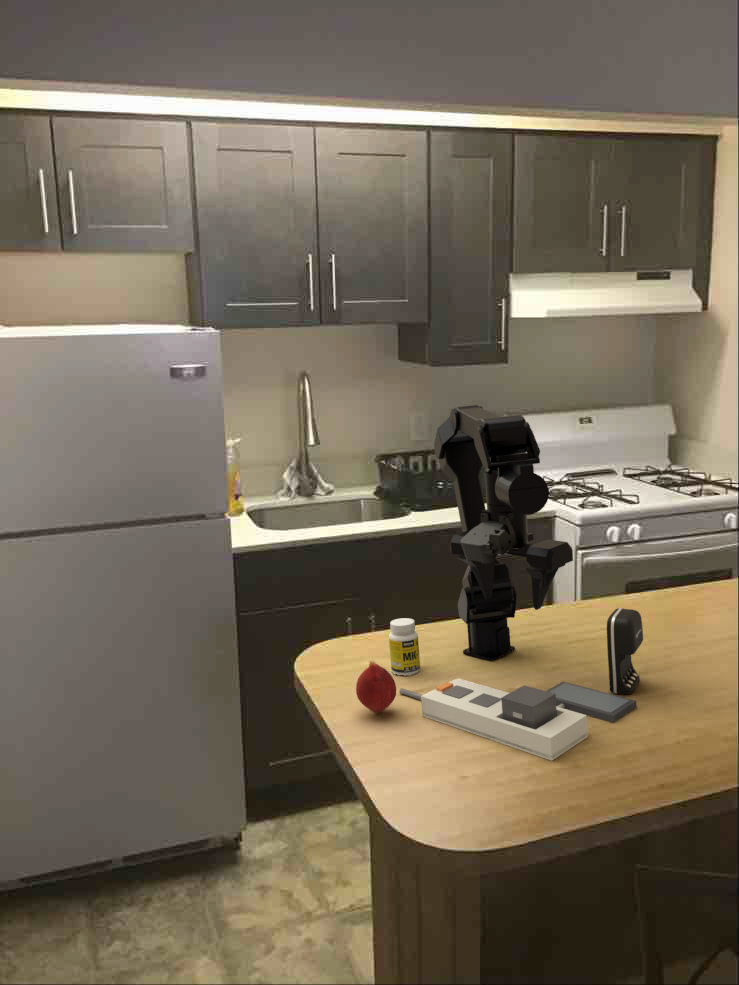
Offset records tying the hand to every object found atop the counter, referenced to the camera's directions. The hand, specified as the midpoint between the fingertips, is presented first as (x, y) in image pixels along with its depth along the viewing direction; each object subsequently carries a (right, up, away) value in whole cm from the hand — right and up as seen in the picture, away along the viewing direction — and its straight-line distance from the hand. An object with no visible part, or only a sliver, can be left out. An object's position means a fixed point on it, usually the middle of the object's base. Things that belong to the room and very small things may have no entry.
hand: (512, 603), depth 126 cm
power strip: (-6, -15, -8) cm, 18 cm away
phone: (+7, -14, -9) cm, 18 cm away
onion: (-20, -16, -4) cm, 26 cm away
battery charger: (+17, -12, -2) cm, 21 cm away
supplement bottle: (-15, -13, +12) cm, 23 cm away
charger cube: (0, -15, -15) cm, 21 cm away
